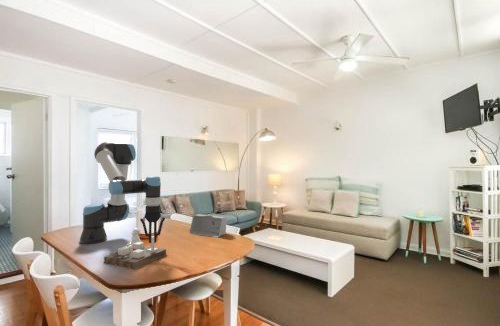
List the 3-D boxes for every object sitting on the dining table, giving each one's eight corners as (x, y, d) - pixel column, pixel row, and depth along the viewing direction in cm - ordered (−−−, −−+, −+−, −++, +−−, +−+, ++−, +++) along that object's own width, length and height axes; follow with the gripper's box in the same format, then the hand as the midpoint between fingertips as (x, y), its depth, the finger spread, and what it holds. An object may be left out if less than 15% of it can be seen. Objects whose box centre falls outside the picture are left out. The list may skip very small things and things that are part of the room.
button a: (117, 255, 142) (117, 248, 142) (124, 253, 146) (124, 246, 146) (123, 256, 140) (123, 249, 140) (129, 254, 144) (129, 247, 144)
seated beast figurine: (126, 246, 165) (126, 226, 165) (142, 244, 169) (142, 225, 169) (126, 251, 157) (126, 230, 157) (142, 249, 160) (142, 228, 160)
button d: (146, 256, 147) (146, 249, 147) (152, 253, 151) (152, 247, 151) (152, 257, 146) (152, 250, 146) (157, 254, 149) (158, 248, 149)
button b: (132, 258, 138) (132, 251, 138) (138, 255, 142) (138, 249, 142) (138, 259, 137) (138, 252, 137) (144, 257, 140) (144, 250, 140)
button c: (132, 249, 151) (132, 243, 151) (138, 247, 155) (138, 241, 155) (138, 250, 150) (138, 244, 150) (143, 248, 153) (143, 242, 153)
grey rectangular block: (230, 232, 201) (230, 215, 201) (218, 237, 187) (219, 219, 187) (202, 228, 212) (202, 212, 212) (189, 233, 197) (189, 216, 197)
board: (104, 262, 138) (104, 255, 138) (138, 249, 159) (138, 243, 159) (134, 269, 130) (134, 261, 130) (166, 254, 151) (166, 248, 151)
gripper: (140, 206, 142) (139, 252, 142) (166, 205, 147) (165, 249, 147) (139, 204, 149) (139, 247, 149) (164, 203, 154) (164, 245, 154)
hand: (152, 248), depth 148 cm, fingers closed
